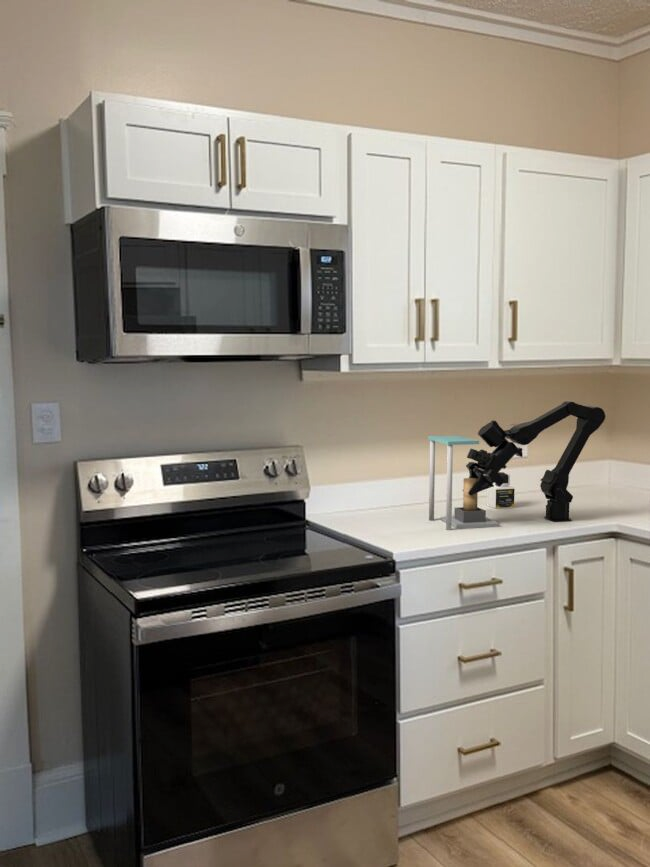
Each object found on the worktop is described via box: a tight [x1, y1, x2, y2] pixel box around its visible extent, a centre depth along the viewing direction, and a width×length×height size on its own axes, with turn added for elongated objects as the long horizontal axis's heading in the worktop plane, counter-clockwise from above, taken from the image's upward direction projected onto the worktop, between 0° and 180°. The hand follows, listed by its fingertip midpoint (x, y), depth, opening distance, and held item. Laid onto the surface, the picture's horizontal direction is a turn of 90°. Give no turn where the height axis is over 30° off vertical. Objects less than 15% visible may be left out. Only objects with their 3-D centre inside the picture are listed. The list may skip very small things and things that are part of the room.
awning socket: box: [427, 435, 501, 531], centre depth 272 cm, size 18×17×27 cm
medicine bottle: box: [486, 471, 516, 510], centre depth 303 cm, size 7×7×12 cm
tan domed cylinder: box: [462, 477, 479, 511], centre depth 273 cm, size 4×4×11 cm
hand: (466, 493), depth 273 cm, fingers closed on tan domed cylinder, 4 cm apart
